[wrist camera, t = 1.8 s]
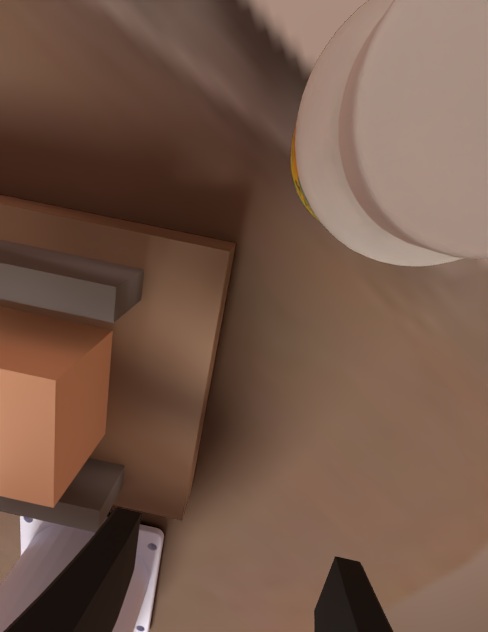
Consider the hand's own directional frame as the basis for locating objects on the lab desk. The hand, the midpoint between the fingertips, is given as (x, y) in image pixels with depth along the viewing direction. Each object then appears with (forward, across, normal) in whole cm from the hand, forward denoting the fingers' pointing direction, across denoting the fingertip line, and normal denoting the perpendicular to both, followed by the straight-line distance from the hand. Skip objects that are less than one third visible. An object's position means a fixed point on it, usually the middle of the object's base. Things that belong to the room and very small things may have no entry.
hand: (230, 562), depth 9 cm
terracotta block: (+6, +8, 0) cm, 11 cm away
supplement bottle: (+9, -2, -10) cm, 14 cm away
